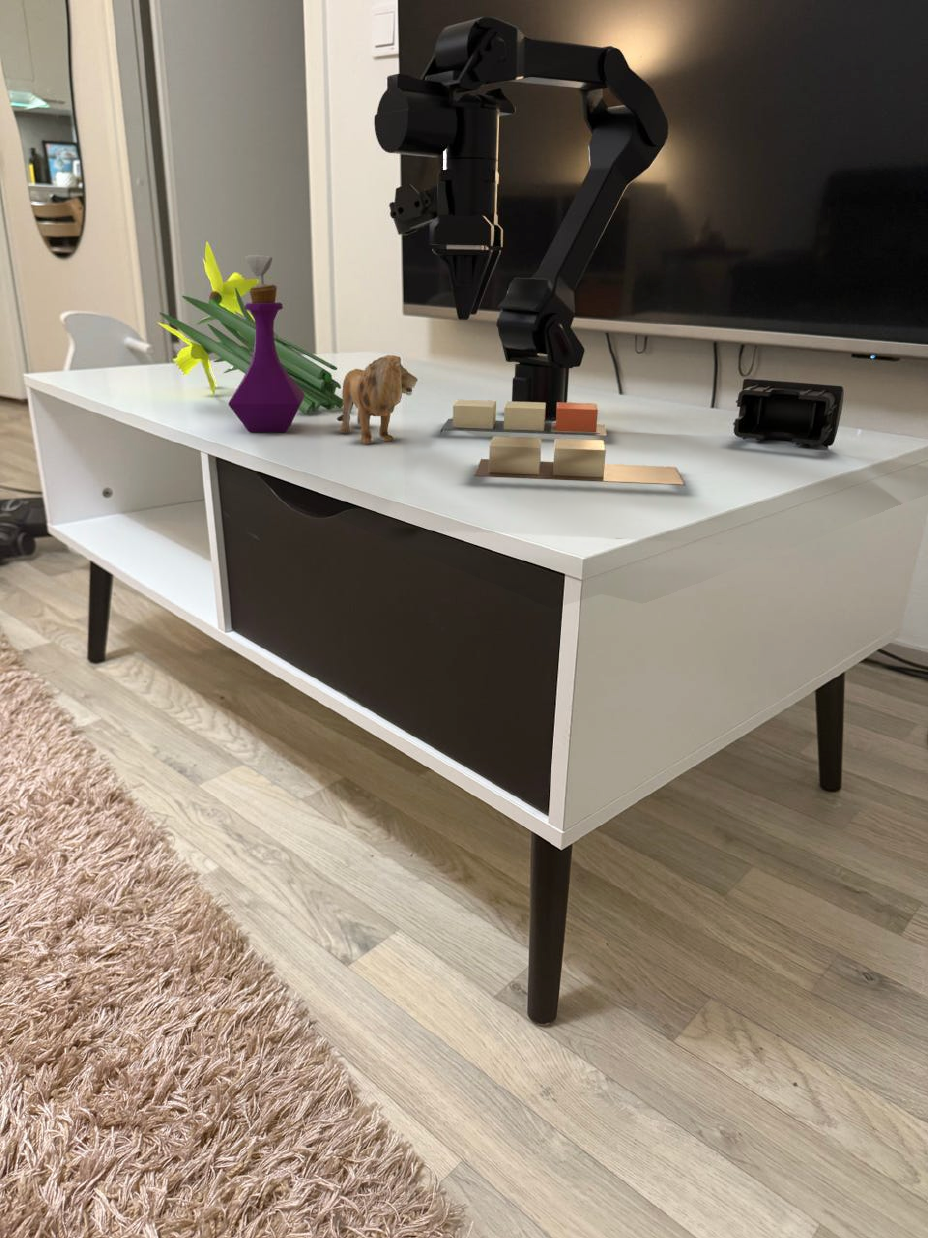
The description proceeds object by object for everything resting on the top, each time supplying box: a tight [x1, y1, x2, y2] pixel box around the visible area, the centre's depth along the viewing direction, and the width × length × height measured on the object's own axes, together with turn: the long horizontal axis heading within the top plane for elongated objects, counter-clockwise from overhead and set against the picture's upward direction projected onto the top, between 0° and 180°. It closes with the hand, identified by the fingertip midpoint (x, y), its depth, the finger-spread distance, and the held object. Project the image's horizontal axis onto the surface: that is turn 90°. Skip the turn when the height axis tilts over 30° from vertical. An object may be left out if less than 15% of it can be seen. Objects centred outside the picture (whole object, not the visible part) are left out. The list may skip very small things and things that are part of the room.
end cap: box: [732, 378, 845, 449], centre depth 95 cm, size 10×7×7 cm
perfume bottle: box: [228, 254, 305, 433], centre depth 97 cm, size 8×8×18 cm
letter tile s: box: [555, 402, 599, 432], centre depth 100 cm, size 4×4×2 cm
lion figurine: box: [336, 354, 418, 445], centre depth 96 cm, size 15×5×9 cm, turn 33°
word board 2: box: [473, 435, 686, 486], centre depth 80 cm, size 18×7×3 cm, turn 84°
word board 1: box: [439, 399, 608, 437], centre depth 100 cm, size 18×7×3 cm, turn 84°
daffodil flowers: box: [156, 241, 343, 415], centre depth 120 cm, size 17×15×35 cm
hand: (467, 316), depth 101 cm, fingers open, 9 cm apart
